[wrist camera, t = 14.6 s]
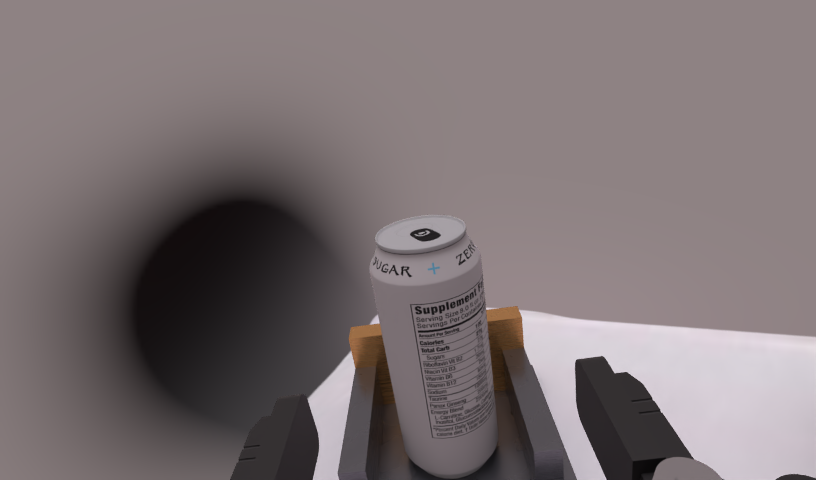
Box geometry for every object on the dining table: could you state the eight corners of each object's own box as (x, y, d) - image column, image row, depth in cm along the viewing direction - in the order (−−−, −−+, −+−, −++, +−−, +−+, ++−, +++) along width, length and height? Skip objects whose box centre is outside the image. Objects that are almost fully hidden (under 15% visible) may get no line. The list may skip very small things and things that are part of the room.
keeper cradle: (532, 375, 37) (527, 297, 34) (600, 552, 24) (600, 448, 21) (357, 396, 38) (339, 321, 35) (329, 578, 25) (298, 481, 22)
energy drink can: (463, 400, 34) (438, 203, 28) (519, 454, 29) (502, 228, 23) (390, 439, 31) (346, 233, 26) (436, 505, 26) (395, 266, 21)
